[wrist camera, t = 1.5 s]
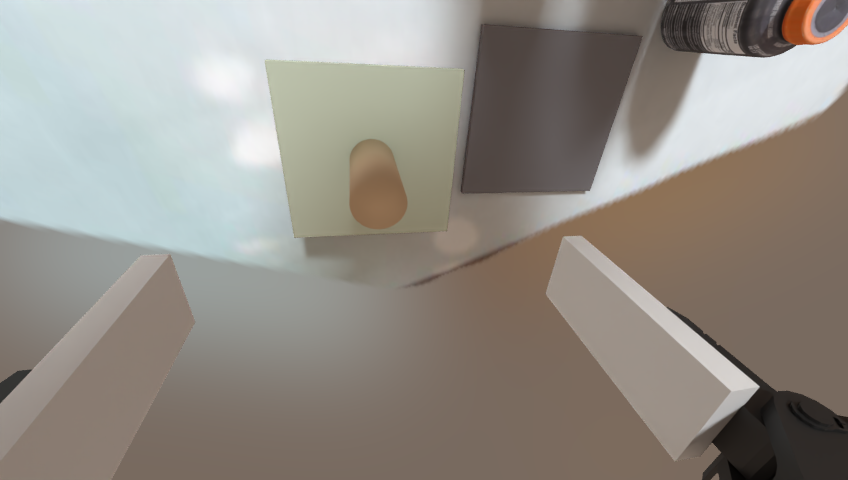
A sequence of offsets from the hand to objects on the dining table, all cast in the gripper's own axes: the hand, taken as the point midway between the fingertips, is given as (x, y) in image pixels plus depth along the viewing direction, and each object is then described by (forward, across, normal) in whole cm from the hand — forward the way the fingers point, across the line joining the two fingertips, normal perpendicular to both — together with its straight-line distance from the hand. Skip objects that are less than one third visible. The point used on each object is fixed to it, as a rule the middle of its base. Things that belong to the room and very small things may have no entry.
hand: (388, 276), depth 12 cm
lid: (+19, 0, -1) cm, 19 cm away
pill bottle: (+22, +29, +11) cm, 38 cm away
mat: (+22, +18, +1) cm, 28 cm away
